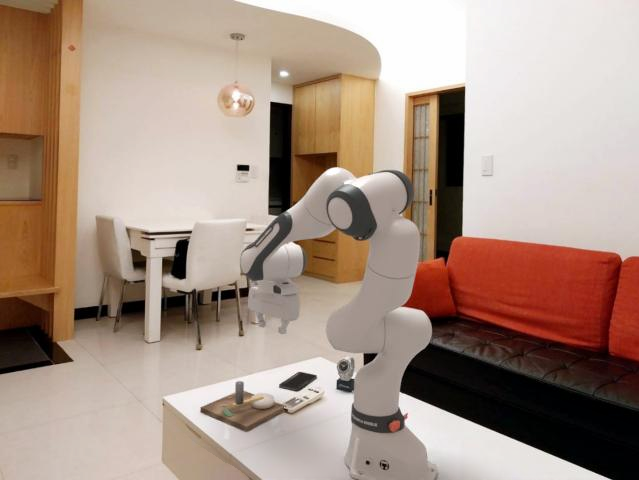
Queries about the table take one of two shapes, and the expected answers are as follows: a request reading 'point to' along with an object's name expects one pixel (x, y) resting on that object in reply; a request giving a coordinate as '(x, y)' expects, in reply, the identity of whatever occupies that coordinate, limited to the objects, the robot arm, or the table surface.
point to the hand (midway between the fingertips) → (272, 330)
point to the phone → (298, 381)
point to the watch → (346, 374)
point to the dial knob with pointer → (252, 398)
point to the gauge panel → (240, 412)
